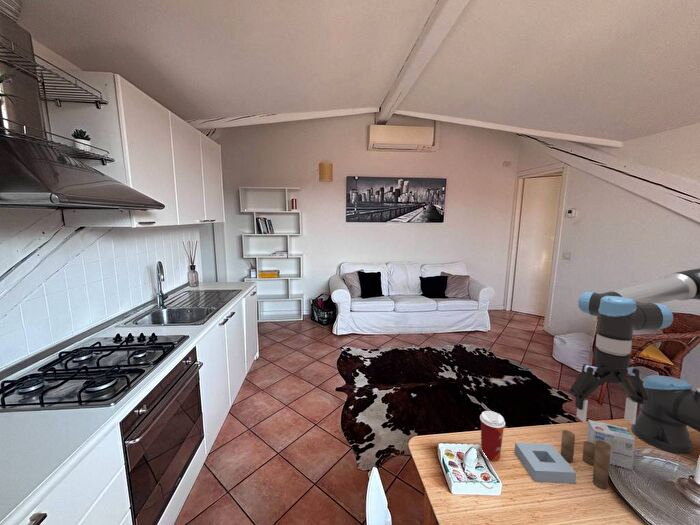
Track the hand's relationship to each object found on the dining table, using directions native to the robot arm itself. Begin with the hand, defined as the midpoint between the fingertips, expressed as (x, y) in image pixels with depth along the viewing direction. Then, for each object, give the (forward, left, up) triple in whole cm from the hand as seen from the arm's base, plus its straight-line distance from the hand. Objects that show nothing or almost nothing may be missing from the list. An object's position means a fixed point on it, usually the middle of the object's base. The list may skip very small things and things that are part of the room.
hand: (605, 420), depth 85 cm
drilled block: (+13, -6, -21) cm, 25 cm away
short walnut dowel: (-4, -9, -21) cm, 23 cm away
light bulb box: (-11, -11, -21) cm, 26 cm away
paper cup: (+28, -10, -21) cm, 36 cm away
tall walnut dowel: (0, 0, -21) cm, 21 cm away
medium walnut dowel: (+3, -10, -21) cm, 23 cm away
